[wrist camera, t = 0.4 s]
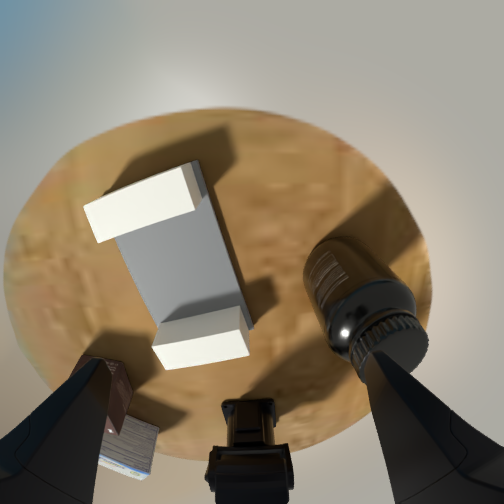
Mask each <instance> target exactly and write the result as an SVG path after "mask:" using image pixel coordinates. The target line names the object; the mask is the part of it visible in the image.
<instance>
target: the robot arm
mask: <svg viewBox="0 0 504 504" xmlns="http://www.w3.org/2000/svg"><path fill="white" fill-rule="evenodd" d="M364 374H365V379H366V384H367V390H368V395H369V401H370V407H371V411H372V415H373V419H374V422H375V426H376V429H377V433H378V436H379V440H380V444H381V447H382V451H383V455H384V459H385V462H386V466H387V470H388V475H389V479H390V483H391V487H392V492H393V496H394V501H395V504H504V447H503V446H500V445H499V444H497V443H496V442H494V441H493V440H491V439H490V438H488V437H487V436H485V435H484V434H482V433H481V432H480V431H478V430H476V429H475V428H474V427H472V426H471V425H470V424H468V423H467V422H466V421H465V420H463V419H462V418H461V417H460V416H459V415H457V414H456V413H455V412H454V411H453V410H451V409H450V408H449V407H448V406H447V405H445V404H444V403H443V402H442V401H441V400H440V399H439V398H438V397H436V396H435V395H434V394H433V393H432V392H430V391H429V390H428V389H427V388H426V387H425V386H423V385H422V384H421V383H420V382H419V381H418V380H417V379H415V378H414V377H413V376H412V375H411V374H410V373H408V372H407V371H406V370H405V369H404V368H402V367H401V366H400V365H399V364H398V363H397V362H395V361H394V360H393V359H392V358H391V357H390V356H388V355H387V354H386V353H385V352H384V351H381V350H379V351H373V352H371V353H370V354H369V357H368V359H367V362H366V365H365V368H364ZM111 384H112V372H111V370H110V369H109V367H108V365H107V363H106V361H105V360H104V359H103V358H100V357H92V358H91V359H90V360H89V361H88V362H86V363H85V364H84V365H83V366H82V367H81V368H80V369H79V370H77V371H76V372H75V373H74V374H73V375H72V376H71V377H70V378H69V379H68V380H66V381H65V382H64V383H63V384H62V385H61V386H60V387H59V388H58V389H57V390H55V391H54V392H53V393H52V394H51V395H50V396H49V397H48V398H47V399H46V400H45V401H44V402H43V403H42V404H40V405H39V406H38V407H37V408H36V409H35V410H34V411H33V412H32V413H31V414H30V415H29V416H27V417H26V418H25V419H24V420H23V421H22V422H21V423H20V424H19V425H18V426H16V428H14V429H13V430H12V431H11V432H9V433H8V434H7V435H5V436H4V437H3V438H2V439H0V504H92V502H93V493H94V486H95V479H96V473H97V466H98V461H99V455H100V450H101V444H102V439H103V434H104V430H105V425H106V420H107V415H108V408H109V400H110V392H111ZM221 408H222V411H223V414H224V417H225V420H226V424H227V447H224V446H213V450H212V451H211V452H210V453H209V464H208V467H207V470H206V473H205V480H206V481H207V482H208V483H209V486H210V490H211V492H215V502H216V504H287V503H288V502H289V490H293V489H294V473H293V466H292V461H291V456H290V451H289V446H288V443H284V444H280V445H275V439H274V429H273V428H274V427H276V417H275V404H274V400H273V399H266V400H254V401H239V402H223V403H222V405H221Z"/></svg>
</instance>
